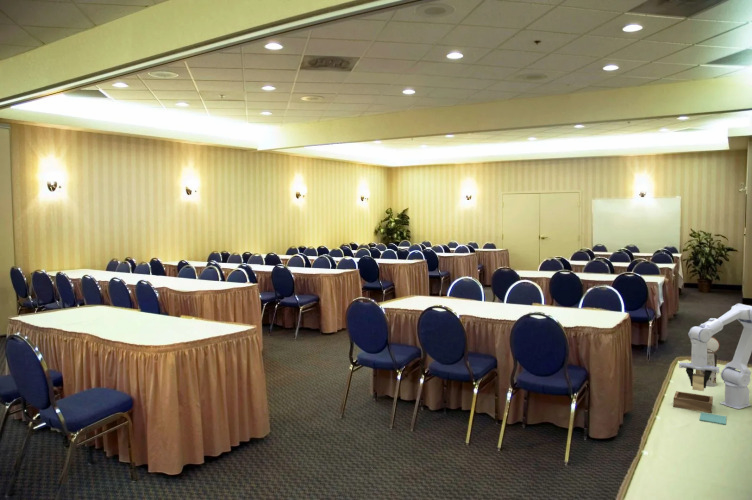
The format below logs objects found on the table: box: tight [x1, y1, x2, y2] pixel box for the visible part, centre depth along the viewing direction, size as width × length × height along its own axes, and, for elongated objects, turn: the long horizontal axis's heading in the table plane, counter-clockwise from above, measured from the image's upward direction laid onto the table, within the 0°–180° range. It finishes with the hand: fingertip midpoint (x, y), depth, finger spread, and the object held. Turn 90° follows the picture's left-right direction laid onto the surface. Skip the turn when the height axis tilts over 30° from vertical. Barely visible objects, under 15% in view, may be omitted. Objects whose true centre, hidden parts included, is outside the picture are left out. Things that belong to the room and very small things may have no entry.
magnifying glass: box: [707, 336, 721, 353], centre depth 277 cm, size 9×2×20 cm, turn 53°
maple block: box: [692, 372, 705, 392], centre depth 231 cm, size 4×4×6 cm
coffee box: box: [695, 349, 718, 387], centre depth 265 cm, size 9×6×16 cm
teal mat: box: [699, 411, 727, 426], centre depth 222 cm, size 9×9×1 cm
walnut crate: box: [672, 390, 714, 414], centre depth 236 cm, size 10×14×4 cm
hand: (698, 386), depth 231 cm, fingers closed on maple block, 4 cm apart
